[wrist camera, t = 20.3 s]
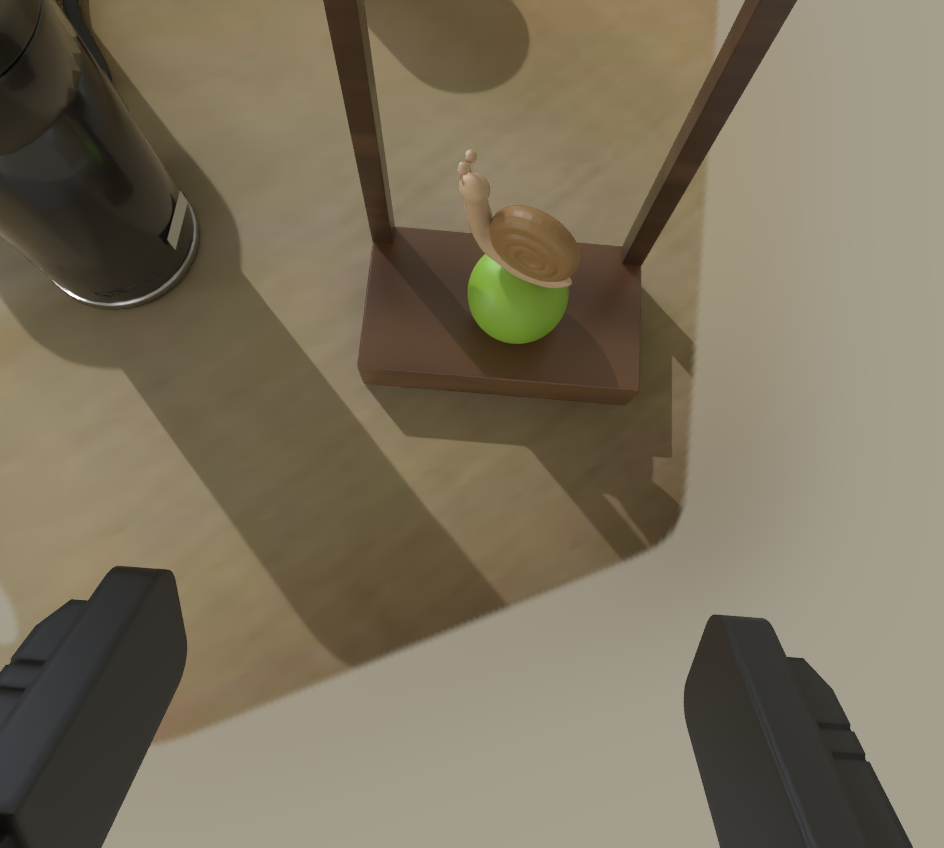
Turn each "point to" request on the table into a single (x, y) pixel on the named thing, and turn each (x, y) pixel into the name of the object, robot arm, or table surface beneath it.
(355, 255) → the table surface
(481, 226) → the snail figurine
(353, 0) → the shelf unit
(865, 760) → the robot arm
